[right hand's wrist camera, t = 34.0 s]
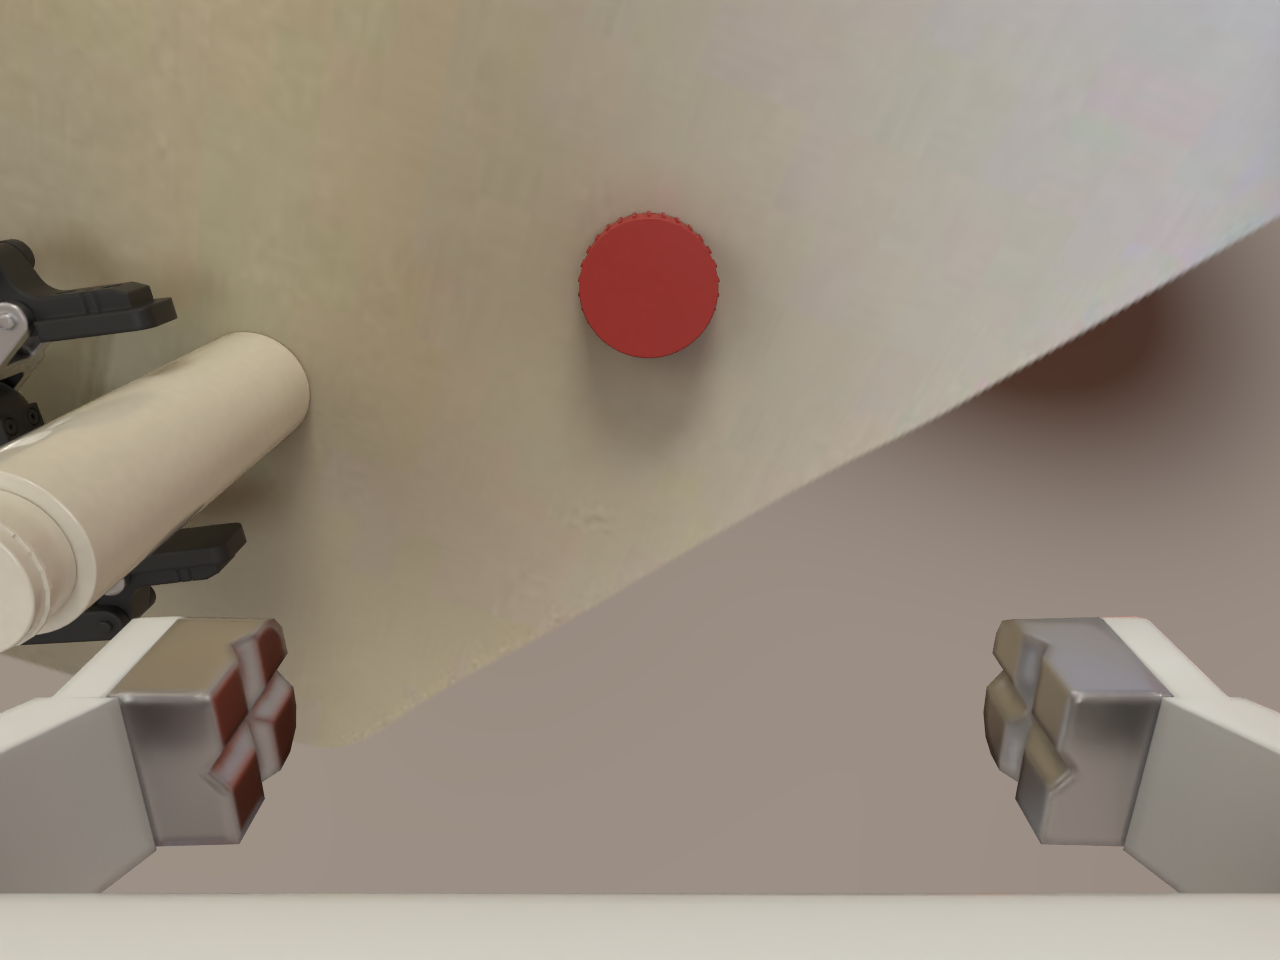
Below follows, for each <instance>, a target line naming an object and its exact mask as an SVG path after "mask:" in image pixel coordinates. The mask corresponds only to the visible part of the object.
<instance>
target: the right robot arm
mask: <svg viewBox="0 0 1280 960" xmlns="http://www.w3.org/2000/svg"><path fill="white" fill-rule="evenodd" d="M286 655H287V649H286V644H285V639H284V634H283V629H282V627H281V626H280V625H279V624H278V623H277V621H276V620H275V619H264V618H211V617H187V618H185V617H182V616H170V617H142V618H136V619H132V620H131V621H130V622H129V623H128V624H127V625H126V626H125V627H124V628H123V629H122V630H121V631H120V632H119V633H118V634H117V635H116V636H115V637H114V638H113V639H111V640H110V641H109V642H108V643H107V644H106V645H105V646H104V647H103V648H102V649H101V650H100V651H99V652H98V653H97V654H96V655H95V656H94V657H93V658H92V659H91V660H90V661H89V662H88V663H87V664H86V665H85V666H84V667H82V668H81V669H80V670H79V671H78V672H77V673H76V674H75V675H74V676H73V677H72V678H71V679H70V680H69V681H68V682H67V683H66V684H65V685H64V686H63V687H62V688H61V689H60V690H59V691H58V692H57V693H56V694H54V695H53V696H52V697H37V698H34V699H32V700H30V701H27V702H25V703H22V704H20V705H18V706H15V707H13V708H11V709H8V710H6V711H4V712H1V713H0V960H1280V713H1279V712H1276V711H1274V710H1272V709H1269V708H1267V707H1264V706H1262V705H1260V704H1258V703H1255V702H1253V701H1251V700H1248V699H1246V698H1243V697H1228V696H1227V695H1226V694H1224V693H1223V692H1222V691H1221V690H1220V689H1219V688H1218V687H1217V686H1216V685H1215V684H1214V683H1213V682H1212V681H1211V680H1210V679H1209V678H1208V677H1207V676H1206V675H1205V674H1204V673H1203V672H1202V671H1201V670H1200V669H1199V668H1198V667H1197V666H1196V665H1195V664H1194V663H1192V662H1191V661H1190V660H1189V659H1188V658H1187V657H1186V656H1185V655H1184V654H1183V653H1182V652H1181V651H1180V650H1179V649H1178V648H1177V647H1176V646H1175V645H1174V644H1173V643H1172V642H1171V641H1170V640H1169V639H1168V638H1167V637H1166V636H1165V635H1164V634H1163V633H1161V632H1160V631H1159V630H1158V629H1157V628H1156V627H1155V626H1154V625H1153V624H1152V623H1151V622H1150V621H1149V620H1147V619H1144V618H1141V617H1138V616H1124V617H1091V618H1050V619H1012V620H1003V621H1002V622H1001V624H1000V627H999V629H998V631H997V633H996V637H995V643H994V648H993V655H994V656H995V658H996V659H997V661H998V662H999V664H1000V665H1001V667H1002V668H1003V671H1002V672H1001V673H1000V674H999V675H998V676H997V677H996V678H995V679H994V680H993V681H992V682H991V683H990V684H989V685H988V686H987V690H986V698H985V705H984V724H985V735H986V739H987V743H988V746H989V749H990V753H991V755H992V757H993V759H994V761H995V763H996V765H997V766H998V768H999V770H1000V771H1002V772H1003V773H1005V774H1006V775H1008V776H1009V777H1011V778H1012V779H1014V780H1016V781H1017V782H1018V787H1017V792H1016V798H1015V799H1016V801H1017V803H1018V804H1019V806H1020V808H1021V810H1022V811H1023V813H1024V815H1025V817H1026V819H1027V820H1028V822H1029V824H1030V826H1031V827H1032V829H1033V831H1034V833H1035V834H1036V836H1037V838H1038V840H1039V841H1040V843H1041V844H1057V845H1094V846H1124V849H1123V850H1124V851H1126V852H1127V853H1128V854H1129V855H1131V856H1132V857H1133V858H1135V859H1136V860H1137V861H1138V862H1140V863H1141V864H1142V865H1144V866H1145V867H1146V868H1148V869H1149V870H1150V871H1151V872H1153V873H1154V874H1155V875H1157V876H1158V877H1159V878H1161V879H1162V880H1163V881H1165V882H1166V883H1167V884H1168V885H1170V886H1171V887H1172V888H1174V889H1175V890H1176V891H1177V892H1179V893H101V892H103V891H104V890H105V889H107V888H108V887H109V886H111V885H112V884H113V883H114V882H116V881H117V880H118V879H120V878H121V877H122V876H124V875H125V874H126V873H128V872H129V871H130V870H131V869H133V868H134V867H135V866H137V865H138V864H139V863H141V862H142V861H143V860H144V859H146V858H147V857H148V856H150V855H151V854H152V853H154V852H155V851H156V846H185V845H221V844H239V843H240V842H241V840H242V838H243V836H244V834H245V833H246V831H247V829H248V827H249V826H250V824H251V822H252V820H253V819H254V817H255V815H256V813H257V811H258V810H259V808H260V806H261V804H262V803H263V801H264V799H265V798H264V792H263V787H262V782H263V781H264V780H266V779H267V778H269V777H271V776H272V775H274V774H275V773H277V772H278V771H280V770H281V768H282V766H283V764H284V762H285V761H286V759H287V757H288V755H289V753H290V750H291V746H292V741H293V737H294V733H295V728H296V702H295V696H294V689H293V686H292V685H291V684H290V683H289V682H288V681H287V680H286V679H285V678H284V677H283V676H282V675H281V674H280V673H279V672H278V671H277V668H278V667H279V665H280V664H281V662H282V661H283V659H284V658H285V656H286Z"/></svg>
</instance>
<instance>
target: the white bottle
mask: <svg viewBox="0 0 1280 960" xmlns="http://www.w3.org/2000/svg"><path fill="white" fill-rule="evenodd" d="M309 401H310V390H309V384H308V380H307V377H306V374H305V372H304V370H303V368H302V366H301V364H300V363H299V361H298V360H297V359H296V357H295V356H294V355H293V354H292V353H291V352H290V351H289V350H288V349H287V348H286V347H284V346H283V345H282V344H280V343H279V342H277V341H275V340H273V339H271V338H269V337H267V336H264V335H261V334H257V333H251V332H237V333H231V334H227V335H225V336H222V337H220V338H218V339H216V340H214V341H212V342H210V343H208V344H206V345H204V346H202V347H200V348H198V349H196V350H194V351H192V352H190V353H188V354H186V355H184V356H182V357H180V358H178V359H176V360H174V361H172V362H170V363H168V364H165V365H163V366H161V367H159V368H157V369H155V370H153V371H151V372H149V373H147V374H145V375H143V376H141V377H139V378H137V379H135V380H133V381H131V382H129V383H127V384H125V385H123V386H121V387H119V388H117V389H115V390H113V391H111V392H109V393H107V394H105V395H103V396H101V397H99V398H97V399H95V400H93V401H91V402H89V403H87V404H85V405H83V406H81V407H79V408H77V409H75V410H73V411H71V412H69V413H67V414H64V415H62V416H60V417H58V418H56V419H54V420H52V421H50V422H48V423H46V424H44V425H42V426H40V427H38V428H36V429H34V430H32V431H30V432H28V433H26V434H24V435H22V436H20V437H18V438H16V439H14V440H12V441H10V442H8V443H6V444H4V445H2V446H0V653H1V652H4V651H6V650H8V649H10V648H12V647H14V646H19V645H21V644H22V643H24V642H26V641H27V640H29V639H30V638H32V637H34V636H35V635H38V634H44V633H49V632H52V631H55V630H58V629H60V628H62V627H64V626H66V625H68V624H70V623H71V622H73V621H74V620H75V619H77V618H78V617H79V616H80V615H81V614H82V613H84V612H85V611H86V610H87V609H88V608H89V607H91V606H92V605H93V604H94V603H95V602H96V601H98V600H99V599H100V598H101V597H102V596H103V595H104V594H106V593H107V592H108V591H109V590H110V589H111V588H113V587H114V586H115V585H116V584H117V583H118V582H119V581H121V580H122V579H123V578H124V577H125V576H126V575H128V574H129V573H130V572H131V571H132V570H133V569H134V568H136V567H137V566H138V565H139V564H140V563H141V562H143V561H144V560H145V559H146V558H147V557H148V556H149V555H151V554H152V553H153V552H154V551H155V550H156V549H158V548H159V547H160V546H161V545H162V544H163V543H165V542H166V541H167V540H168V539H169V538H170V537H171V536H173V535H174V534H175V533H176V532H177V531H178V530H180V529H181V528H182V527H183V526H184V525H185V524H186V523H188V522H189V521H190V520H191V519H192V518H193V517H195V516H196V515H197V514H198V513H199V512H200V511H201V510H203V509H204V508H205V507H206V506H207V505H208V504H210V503H211V502H212V501H213V500H214V499H215V498H217V497H218V496H219V495H220V494H221V493H222V492H223V491H225V490H226V489H227V488H228V487H229V486H230V485H232V484H233V483H234V482H235V481H236V480H237V479H238V478H240V477H241V476H242V475H243V474H244V473H245V472H247V471H248V470H249V469H250V468H251V467H252V466H253V465H255V464H256V463H257V462H258V461H259V460H260V459H262V458H263V457H264V456H265V455H266V454H267V453H268V452H270V451H271V450H272V449H273V448H274V447H275V446H277V445H278V444H279V443H280V442H281V441H282V440H284V439H285V438H286V437H287V436H288V435H289V434H290V433H292V432H293V431H294V430H295V429H296V428H297V427H298V426H299V425H300V423H301V422H302V421H303V419H304V417H305V415H306V413H307V410H308V407H309Z"/></svg>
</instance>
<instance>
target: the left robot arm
mask: <svg viewBox="0 0 1280 960" xmlns="http://www.w3.org/2000/svg"><path fill="white" fill-rule="evenodd" d="M34 264H35V259H34V255H33V253H32V251H31V249H30V248H29V247H28V246H27V245H26V244H25V243H23V242H21V241H19V240H15V239H10V240H4V241H0V446H2V445H4V444H6V443H8V442H10V441H12V440H14V439H16V438H18V437H20V436H22V435H24V434H26V433H28V432H30V431H32V430H34V429H36V428H38V427H40V426H42V425H44V421H43V419H42V416H41V414H40V411H39V408H38V406H37V403H28V402H27V401H26V399H25V398H24V397H23V396H22V395H21V394H20V393H19V392H17V391H18V390H19V389H20V388H21V386H22V385H23V384H24V383H25V381H26V380H27V379H28V377H29V376H30V375H31V374H32V372H33V371H34V370H35V369H36V367H37V366H38V365H39V364H40V362H41V361H42V360H43V358H44V357H45V354H44V353H43V351H44V350H45V348H46V347H47V346H48V345H49V343H50V342H53V341H60V340H68V339H76V338H84V337H92V336H100V335H107V334H115V333H123V332H131V331H138V330H144V329H149V328H153V327H156V326H159V325H162V324H164V323H167V322H169V321H171V320H174V319H176V318H177V314H176V311H175V308H174V305H173V302H172V298H160V299H153V296H152V293H151V290H150V286H148V285H144V284H140V283H136V282H127V283H120V284H112V285H105V286H97V287H89V288H81V289H73V290H64V291H63V290H57V289H54V288H52V287H50V286H49V285H47V284H46V283H45V282H44V281H43V280H42V279H41V278H40V277H39V275H38V274H37V273H36V271H35V270H34V269H33V268H34ZM246 542H247V541H246V538H245V534H244V531H243V528H242V525H241V524H240V523H228V524H220V525H211V526H203V527H194V528H185V529H180V530H178V531H177V532H176V533H175V534H174V535H173V536H171V537H170V538H169V539H168V540H167V541H166V542H165V543H163V544H162V545H161V546H160V547H159V548H158V549H156V550H155V551H154V552H153V553H152V554H151V555H149V556H148V557H147V558H146V559H145V560H144V561H143V562H141V563H140V564H139V565H138V566H137V567H136V568H134V569H133V570H132V571H131V572H130V573H129V574H128V575H126V576H125V577H124V578H123V579H122V580H121V581H119V582H118V583H117V584H116V585H115V586H114V587H113V588H111V589H110V590H109V591H108V592H107V593H106V594H104V595H103V596H102V597H101V598H100V599H99V600H98V601H96V602H95V603H94V604H93V605H92V606H91V607H89V608H88V609H87V610H86V611H85V612H84V613H82V614H81V615H80V616H79V617H78V618H77V619H75V620H74V621H73V622H71V623H70V624H68V625H66V626H64V627H62V628H60V629H58V630H55V631H52V632H49V633H44V634H38V635H35V636H34V637H32V638H30V639H29V640H27V641H26V642H24V643H22V644H21V645H30V644H48V643H67V642H85V641H103V640H111V639H113V638H114V637H115V636H116V635H117V634H118V633H119V632H120V631H121V630H122V629H123V628H124V627H125V626H126V625H127V624H128V623H129V622H130V621H131V620H132V619H136V618H139V617H140V616H141V615H142V614H143V613H144V612H145V611H146V610H148V609H149V608H150V607H151V606H152V605H153V604H154V602H155V600H156V594H155V591H154V590H153V588H152V587H151V585H160V584H168V583H177V582H181V581H182V582H186V581H191V580H193V581H195V580H204V579H208V578H210V577H212V576H214V575H215V574H217V573H219V572H220V571H221V570H222V569H223V568H224V567H225V566H226V565H227V564H228V562H229V561H230V560H231V559H232V558H233V557H234V556H235V554H236V553H237V552H238V551H239V549H240V548H241V547H242V546H243V545H244V544H245V543H246Z"/></svg>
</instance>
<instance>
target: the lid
mask: <svg viewBox="0 0 1280 960" xmlns="http://www.w3.org/2000/svg"><path fill="white" fill-rule="evenodd" d="M586 253H587V257H586V259H583V262H582V264H581V267H582V271H581V274H580V276H579V278H578V282H580V283H579V294H578V295H579V296H580V301H581V305H582V308H581V309H582V311H583V312H584V315H585V317H586V319H587V321H588V324H589V325H590V326H591V328H592V329H593V330H594V332H595V333H596V334H597V335H598V336H599V337H600V338H601V339H602V340H603V341H604V342H605V343H606V344H608V345H609V346H610V347H612V348H614V349H616V350H617V351H619V352H622V353H624V354H627V355H631V356H634V357H641V358H656V357H663V356H667V355H670V354H673V353H675V352H678V351H680V350H682V349H683V348H685V347H687V346H688V345H690V344H691V343H692V342H693V341H695V340H696V339H697V338H698V337H699V336H700V335H701V333H702V332H703V331H704V330H705V328H706V327H707V325H708V324H709V322H710V320H711V318H712V316H713V314H714V311H715V310H716V308H715V307H716V304H717V298H718V297H719V293H718V282H719V278H718V276H717V272H716V267H717V265H716V263H715V261H714V259H712V257H711V255H710V254H711V253H712V252H711V251H710V249H709V247H708V246H707V247H706V246H705V244H704V243H703V238H702V237H701V235H700V234H699V235H697V234H696V233H695V232H694V231H693V229H692V227H691V226H690V225H688V226H687V225H686V224H684V223H682V222H681V221H679V218H677V217H676V218H672V217H669V216H666V215H665V213H663V212H662V214H656V213H650V211H648V213H642V214H636V212H635V213H633V215H631V216H628V217H625V218H623V219H622V217H620V218H619V221H617V222H615V223H613V224H612V225H609V224H608V225H607V227H606V229H605V230H604V231H603V232H602V233H601V234H600V235H599V234H597V236H596V238H595V242H594V243H593V245H592V247H591V246H589V247H588V250H587V252H586Z"/></svg>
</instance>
